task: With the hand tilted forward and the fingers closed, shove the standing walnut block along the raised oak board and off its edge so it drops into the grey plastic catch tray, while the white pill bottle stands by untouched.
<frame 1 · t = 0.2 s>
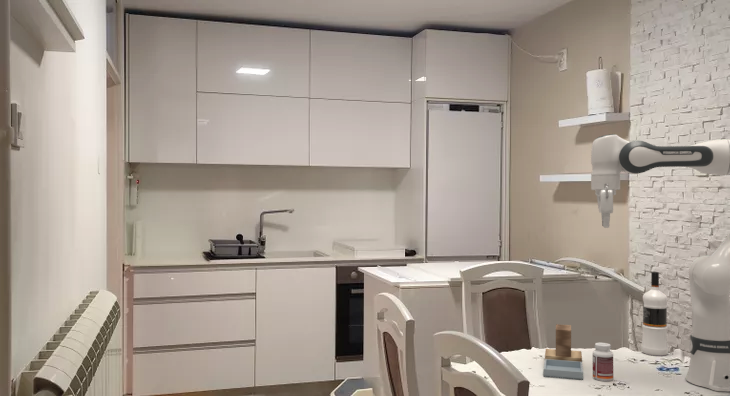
hand: (605, 227, 205), 48 cm above the table, tool pointing down, fingers open, 8 cm apart
walnut block: (563, 353, 218), point 3 cm above the table, touching oak board
vodka: (654, 353, 232), on the table
oak board: (563, 363, 218), on the table
pill bottle: (602, 379, 200), on the table
catch tray: (563, 372, 206), on the table
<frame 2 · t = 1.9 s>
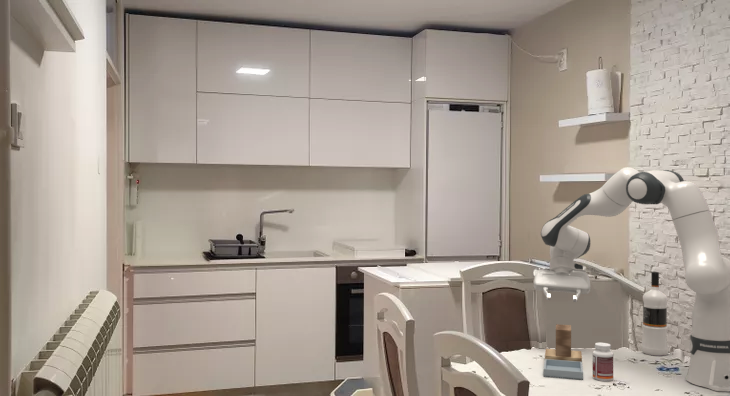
hand: (561, 300, 231), 20 cm above the table, tool tilted 45°, fingers open, 8 cm apart
nothing on the table moved.
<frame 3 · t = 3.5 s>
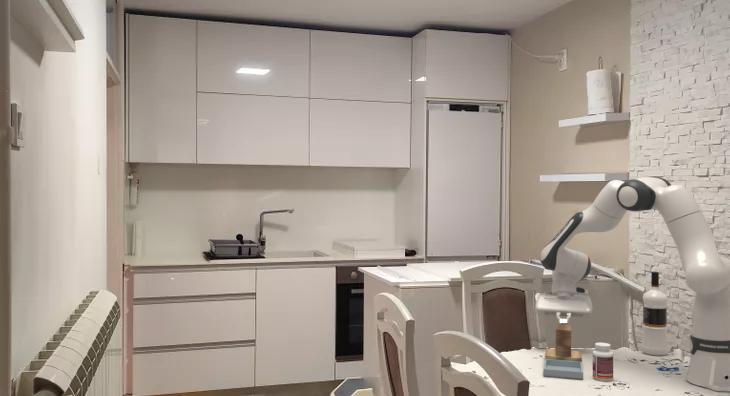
hand: (563, 324, 228), 11 cm above the table, tool tilted 45°, fingers closed
nothing on the table moved.
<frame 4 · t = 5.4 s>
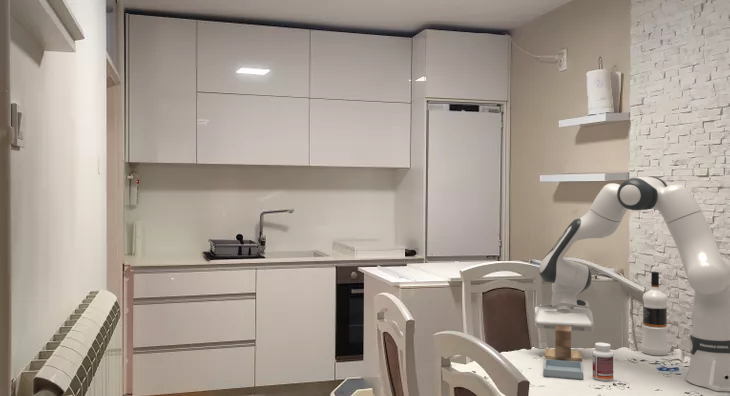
hand: (563, 338, 221), 8 cm above the table, tool tilted 45°, fingers closed, pressing on walnut block
walnut block: (563, 354, 216), point 4 cm above the table, touching gripper, oak board
everything else where it was.
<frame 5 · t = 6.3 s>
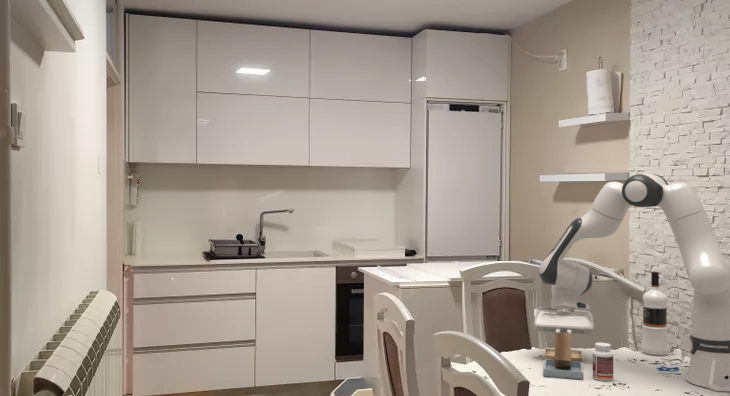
hand: (563, 342, 216), 8 cm above the table, tool tilted 45°, fingers closed
walnut block: (562, 354, 213), point 4 cm above the table, tilted 59°, touching catch tray
everything else where it was.
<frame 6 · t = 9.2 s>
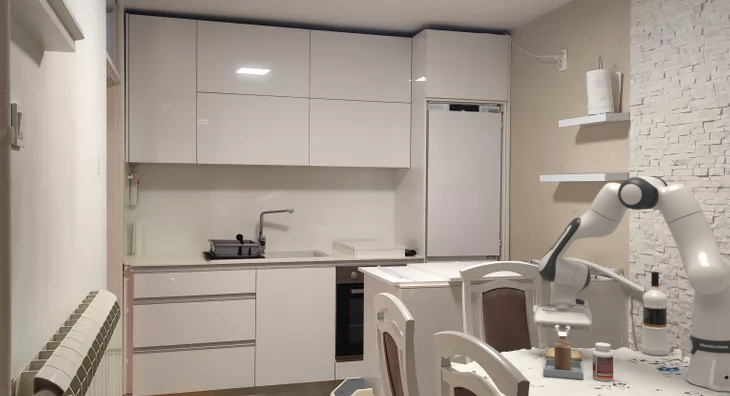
hand: (562, 337, 221), 8 cm above the table, tool tilted 45°, fingers closed
walnut block: (562, 354, 210), point 5 cm above the table, tilted 90°, touching catch tray
everything else where it was.
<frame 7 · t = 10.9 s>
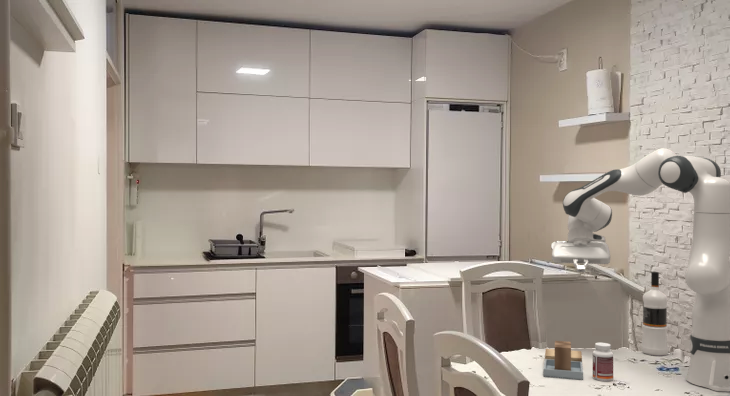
hand: (580, 271, 226), 31 cm above the table, tool tilted 45°, fingers closed
nothing on the table moved.
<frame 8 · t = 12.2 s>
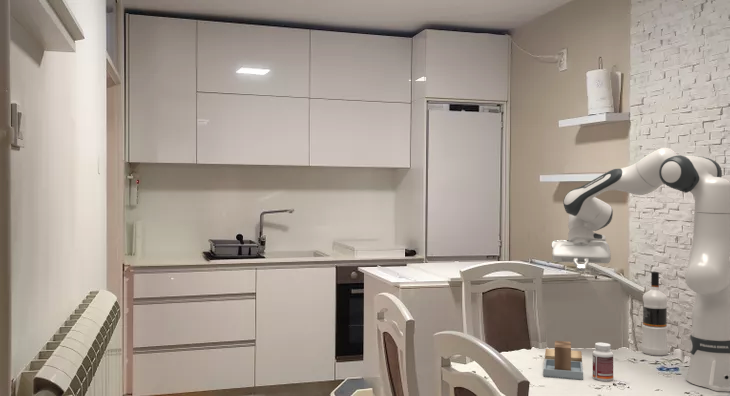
hand: (581, 270, 226), 31 cm above the table, tool tilted 45°, fingers closed
nothing on the table moved.
at the end: walnut block inside the target area on the catch tray (5.0 cm from its centre), point 5.0 cm above the catch tray's base; walnut block moved 8.2 cm from its start; the gripper is holding nothing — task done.
